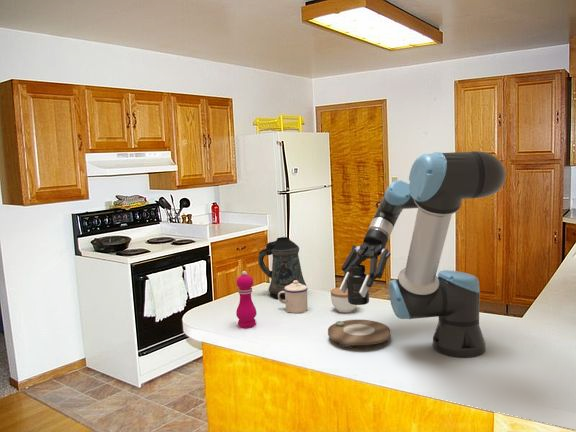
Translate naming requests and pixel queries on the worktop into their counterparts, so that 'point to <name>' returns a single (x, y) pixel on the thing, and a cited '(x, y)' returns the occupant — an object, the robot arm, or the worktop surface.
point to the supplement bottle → (356, 285)
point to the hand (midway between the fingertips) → (351, 293)
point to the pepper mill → (245, 302)
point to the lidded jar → (341, 301)
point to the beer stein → (281, 265)
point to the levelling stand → (358, 333)
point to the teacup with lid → (295, 297)
